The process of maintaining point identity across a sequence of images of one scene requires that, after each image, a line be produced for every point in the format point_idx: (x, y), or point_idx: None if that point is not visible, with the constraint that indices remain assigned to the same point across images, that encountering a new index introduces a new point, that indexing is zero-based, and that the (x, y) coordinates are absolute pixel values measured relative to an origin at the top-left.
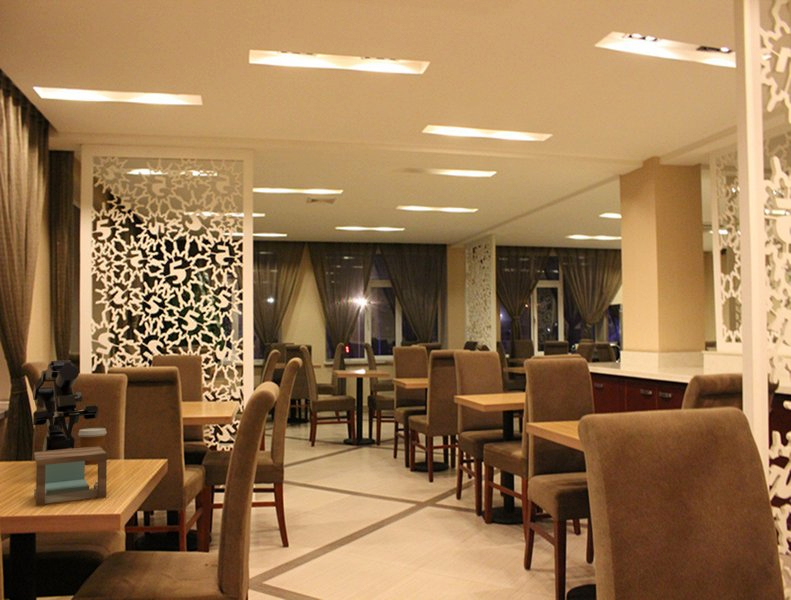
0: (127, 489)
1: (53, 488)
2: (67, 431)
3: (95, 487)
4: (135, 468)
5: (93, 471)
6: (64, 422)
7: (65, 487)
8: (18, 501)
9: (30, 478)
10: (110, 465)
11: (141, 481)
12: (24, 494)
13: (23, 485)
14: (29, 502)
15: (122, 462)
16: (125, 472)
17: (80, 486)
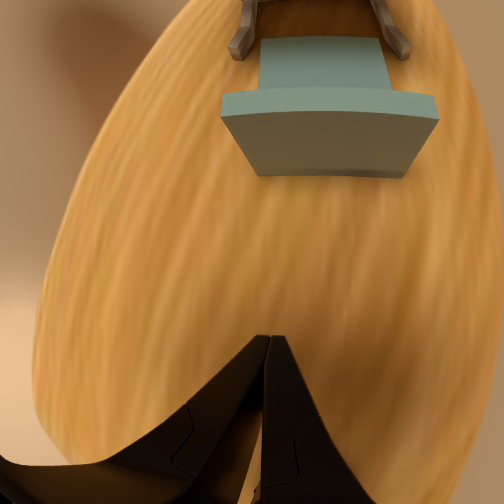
0: (182, 36)
1: (362, 55)
2: (267, 381)
3: (252, 7)
4: (78, 347)
5: None
6: (282, 500)
7: (327, 50)
8: (432, 38)
9: (419, 418)
10: None
11: (121, 110)
12: (441, 102)
13: (462, 273)
14: (403, 17)
15: None
16: (106, 295)
17: (284, 43)
